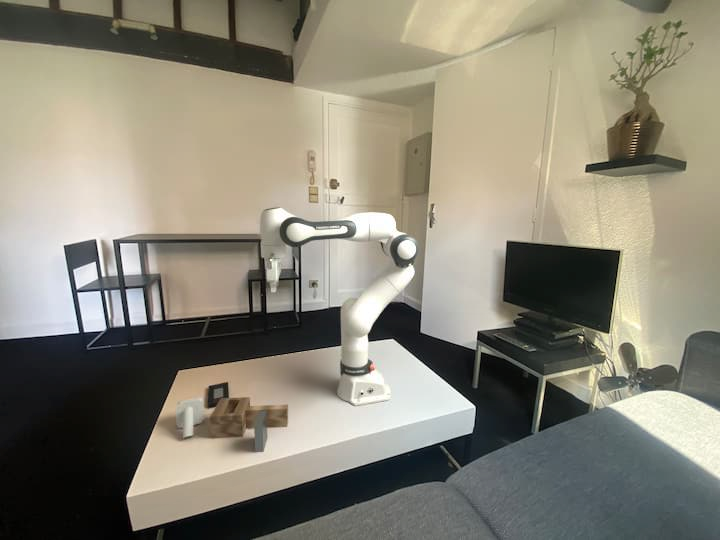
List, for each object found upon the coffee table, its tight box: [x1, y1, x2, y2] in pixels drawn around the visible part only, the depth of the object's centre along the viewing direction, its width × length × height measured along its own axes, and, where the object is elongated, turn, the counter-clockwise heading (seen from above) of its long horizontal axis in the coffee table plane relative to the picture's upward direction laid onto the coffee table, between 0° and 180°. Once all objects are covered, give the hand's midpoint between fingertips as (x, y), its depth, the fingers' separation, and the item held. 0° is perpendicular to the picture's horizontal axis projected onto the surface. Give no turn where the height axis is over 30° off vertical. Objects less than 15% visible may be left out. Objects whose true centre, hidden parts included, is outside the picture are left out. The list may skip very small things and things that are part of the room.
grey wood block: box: [253, 411, 269, 453], centre depth 95 cm, size 2×6×10 cm, turn 5°
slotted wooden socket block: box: [209, 396, 289, 439], centre depth 104 cm, size 24×10×8 cm, turn 95°
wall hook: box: [175, 396, 205, 439], centre depth 102 cm, size 8×10×10 cm
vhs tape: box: [207, 381, 230, 409], centre depth 121 cm, size 8×14×2 cm, turn 25°
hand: (274, 288), depth 112 cm, fingers open, 8 cm apart
